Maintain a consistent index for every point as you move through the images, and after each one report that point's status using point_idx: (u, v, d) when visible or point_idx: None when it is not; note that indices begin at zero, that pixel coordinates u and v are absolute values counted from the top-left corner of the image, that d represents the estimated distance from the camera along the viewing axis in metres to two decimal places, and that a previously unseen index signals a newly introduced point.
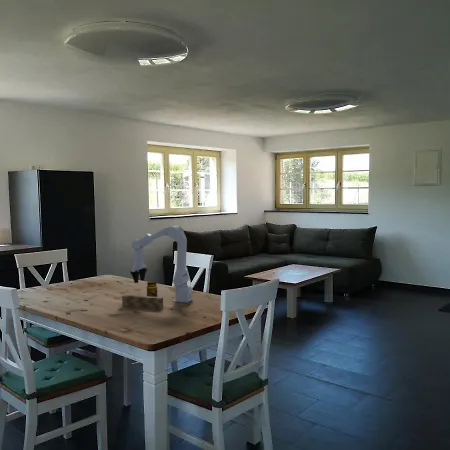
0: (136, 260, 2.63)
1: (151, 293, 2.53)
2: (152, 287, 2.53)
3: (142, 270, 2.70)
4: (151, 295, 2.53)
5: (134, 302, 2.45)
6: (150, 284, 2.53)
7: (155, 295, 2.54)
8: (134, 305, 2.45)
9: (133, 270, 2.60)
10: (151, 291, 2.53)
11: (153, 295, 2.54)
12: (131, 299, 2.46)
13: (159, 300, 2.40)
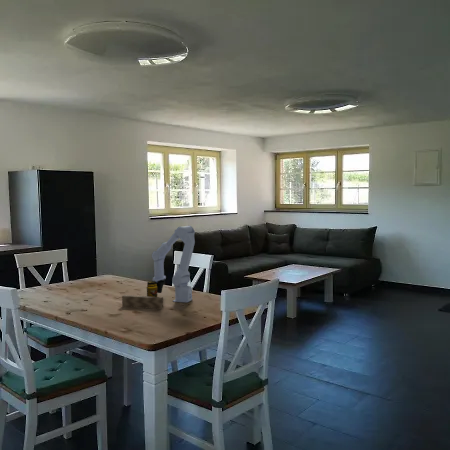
0: (157, 271, 2.64)
1: (151, 293, 2.53)
2: (152, 287, 2.53)
3: None
4: (151, 295, 2.53)
5: (134, 302, 2.45)
6: (150, 284, 2.53)
7: (155, 295, 2.54)
8: (134, 305, 2.45)
9: None
10: (151, 291, 2.53)
11: (153, 295, 2.54)
12: (131, 299, 2.46)
13: (159, 300, 2.40)
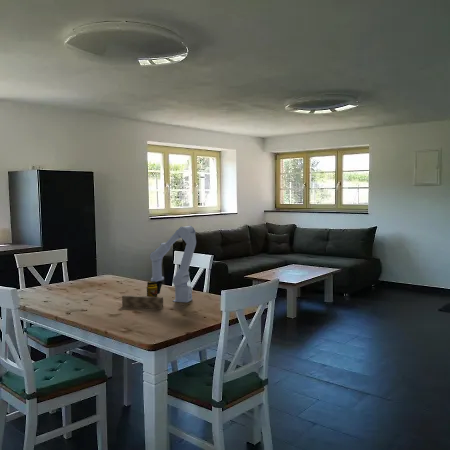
0: (154, 272, 2.61)
1: (151, 293, 2.53)
2: (152, 287, 2.53)
3: None
4: (151, 295, 2.53)
5: (134, 302, 2.45)
6: (150, 284, 2.53)
7: (155, 295, 2.54)
8: (134, 305, 2.45)
9: None
10: (151, 291, 2.53)
11: (153, 295, 2.54)
12: (131, 299, 2.46)
13: (159, 300, 2.40)
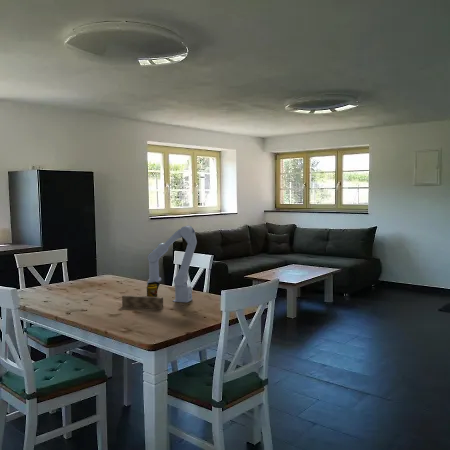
0: (152, 273, 2.58)
1: (151, 293, 2.53)
2: (152, 287, 2.53)
3: None
4: (151, 295, 2.53)
5: (134, 302, 2.45)
6: (150, 284, 2.53)
7: (155, 295, 2.54)
8: (134, 305, 2.45)
9: None
10: (151, 291, 2.53)
11: (153, 295, 2.54)
12: (131, 299, 2.46)
13: (159, 300, 2.40)
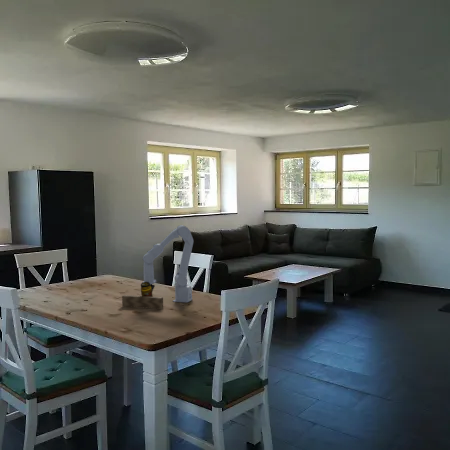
0: (146, 275, 2.51)
1: (145, 295, 2.48)
2: (145, 290, 2.46)
3: None
4: None
5: (134, 302, 2.45)
6: (143, 287, 2.46)
7: None
8: (134, 305, 2.45)
9: None
10: (145, 294, 2.47)
11: None
12: (131, 299, 2.46)
13: (159, 300, 2.40)
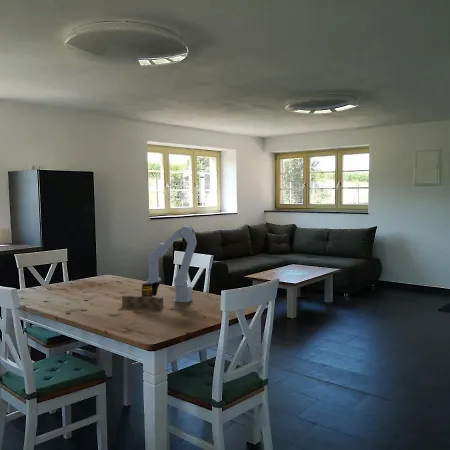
0: (151, 274, 2.57)
1: (145, 295, 2.48)
2: (146, 289, 2.48)
3: None
4: None
5: (134, 302, 2.45)
6: (144, 286, 2.48)
7: None
8: (134, 305, 2.45)
9: None
10: (145, 293, 2.48)
11: None
12: (131, 299, 2.46)
13: (159, 300, 2.40)
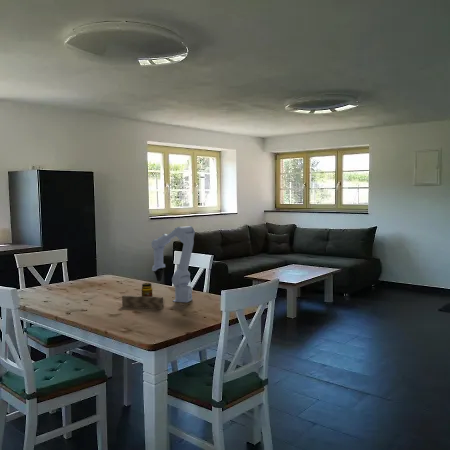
0: (156, 260, 2.68)
1: (145, 295, 2.48)
2: (146, 289, 2.48)
3: None
4: None
5: (134, 302, 2.45)
6: (144, 286, 2.48)
7: None
8: (134, 305, 2.45)
9: (153, 270, 2.64)
10: (145, 293, 2.48)
11: None
12: (131, 299, 2.46)
13: (159, 300, 2.40)
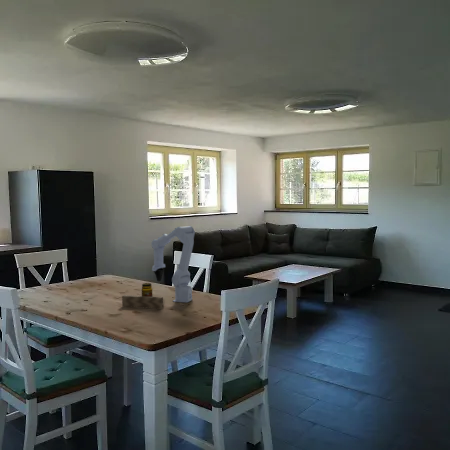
0: (156, 260, 2.68)
1: (145, 295, 2.48)
2: (146, 289, 2.48)
3: None
4: None
5: (134, 302, 2.45)
6: (144, 286, 2.48)
7: None
8: (134, 305, 2.45)
9: (153, 270, 2.64)
10: (145, 293, 2.48)
11: None
12: (131, 299, 2.46)
13: (159, 300, 2.40)
